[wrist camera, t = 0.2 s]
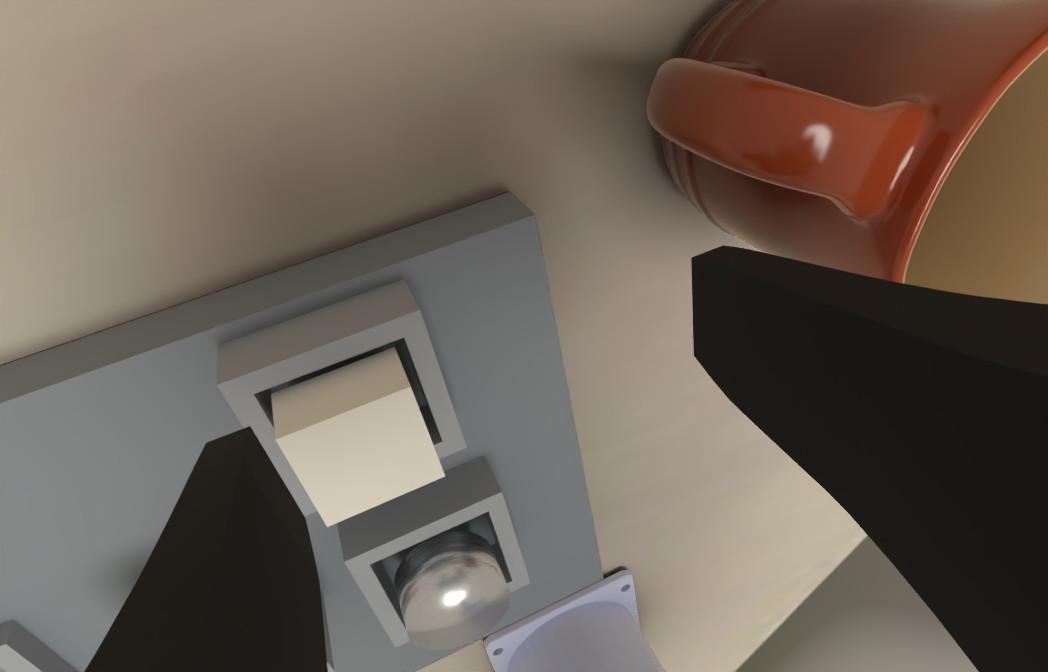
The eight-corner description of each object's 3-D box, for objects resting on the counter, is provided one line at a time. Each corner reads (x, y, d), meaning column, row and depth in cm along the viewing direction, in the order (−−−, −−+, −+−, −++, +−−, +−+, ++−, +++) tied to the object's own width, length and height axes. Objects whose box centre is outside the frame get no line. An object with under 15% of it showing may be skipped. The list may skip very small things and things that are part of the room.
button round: (501, 575, 23) (519, 618, 21) (411, 617, 22) (424, 664, 21) (480, 516, 21) (499, 559, 19) (380, 561, 20) (392, 608, 19)
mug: (895, -6, 21) (1315, 33, 13) (781, 241, 25) (1050, 390, 17) (584, -143, 16) (972, -222, 7) (500, 200, 19) (697, 391, 11)
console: (583, 544, 30) (638, 637, 26) (93, 778, 25) (70, 932, 21) (509, 191, 19) (582, 258, 15) (-353, 486, 15) (-562, 686, 11)
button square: (428, 434, 18) (445, 476, 17) (318, 479, 17) (327, 527, 16) (394, 346, 16) (410, 386, 15) (270, 394, 16) (275, 439, 14)
